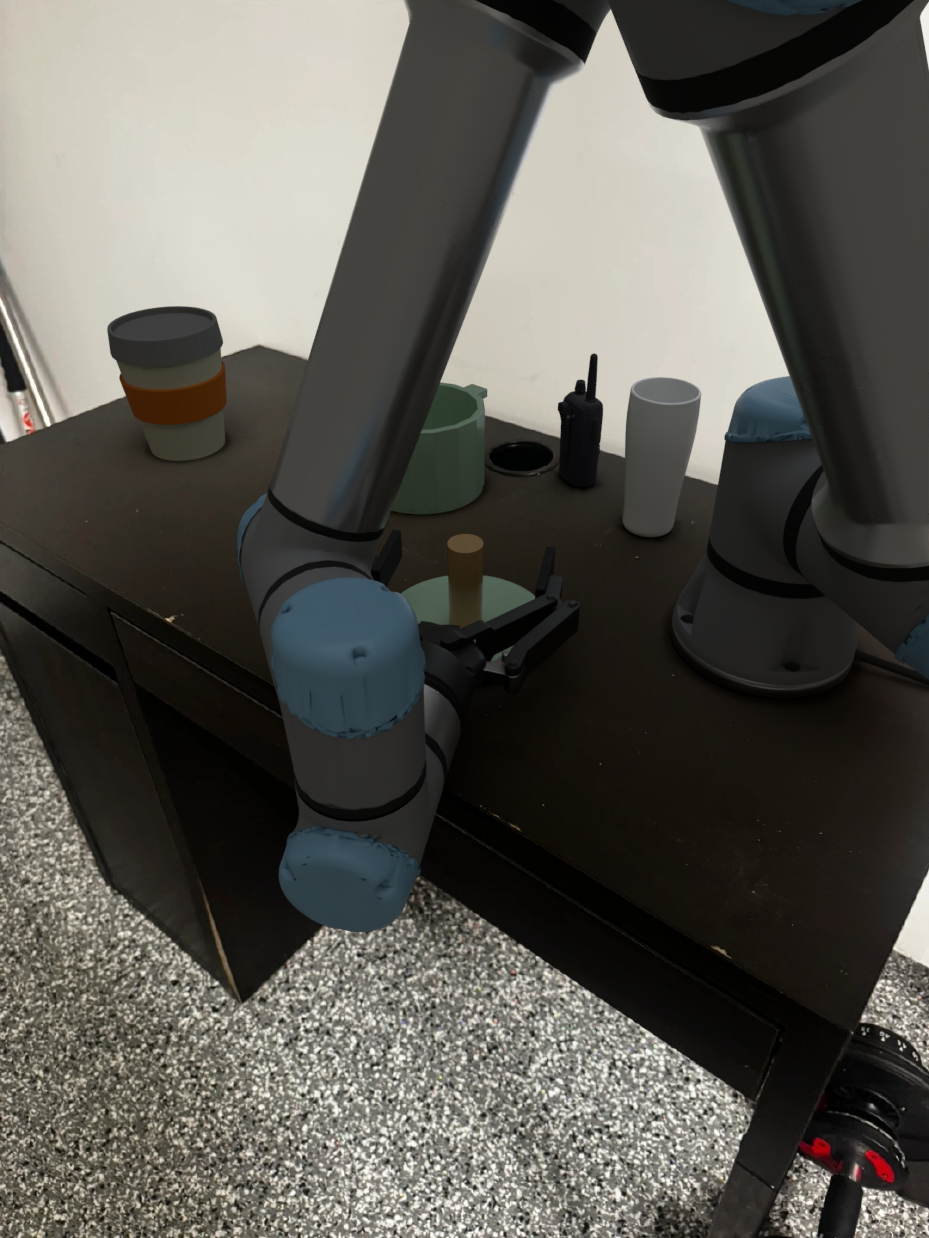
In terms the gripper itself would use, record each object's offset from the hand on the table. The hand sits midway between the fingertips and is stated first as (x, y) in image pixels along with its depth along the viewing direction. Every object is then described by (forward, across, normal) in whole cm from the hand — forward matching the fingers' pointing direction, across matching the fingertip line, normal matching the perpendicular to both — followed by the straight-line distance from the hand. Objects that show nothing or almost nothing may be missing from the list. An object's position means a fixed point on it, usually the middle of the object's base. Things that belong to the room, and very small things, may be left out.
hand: (472, 551), depth 77 cm
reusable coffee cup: (+27, -42, -7) cm, 50 cm away
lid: (-3, 0, -6) cm, 7 cm away
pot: (+23, -10, -6) cm, 26 cm away
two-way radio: (+27, +6, -7) cm, 28 cm away
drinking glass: (+18, +15, -7) cm, 24 cm away
